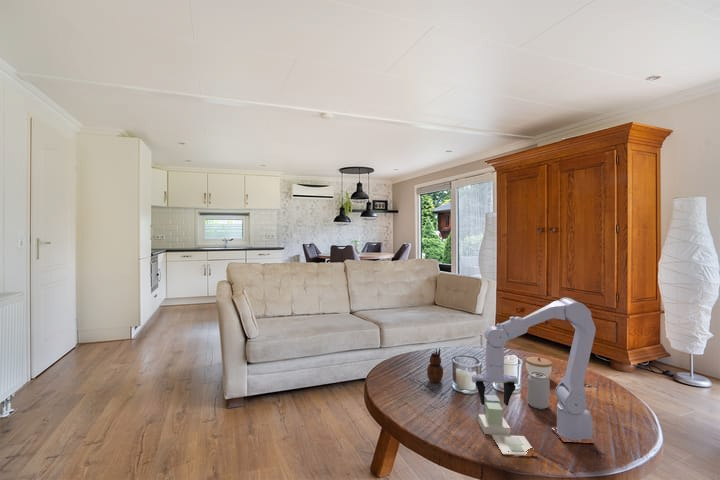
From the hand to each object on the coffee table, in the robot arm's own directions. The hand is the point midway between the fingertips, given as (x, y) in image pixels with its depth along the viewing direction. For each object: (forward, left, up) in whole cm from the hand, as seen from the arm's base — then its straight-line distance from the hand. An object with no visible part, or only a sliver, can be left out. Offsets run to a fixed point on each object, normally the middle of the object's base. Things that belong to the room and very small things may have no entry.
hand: (494, 403), depth 120 cm
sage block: (0, 0, -6) cm, 6 cm away
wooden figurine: (+14, -37, -8) cm, 40 cm away
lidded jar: (-34, -46, -9) cm, 58 cm away
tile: (-3, +10, -8) cm, 13 cm away
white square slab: (0, 0, -9) cm, 9 cm away
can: (-22, -18, -9) cm, 30 cm away
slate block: (-3, -12, -8) cm, 15 cm away
